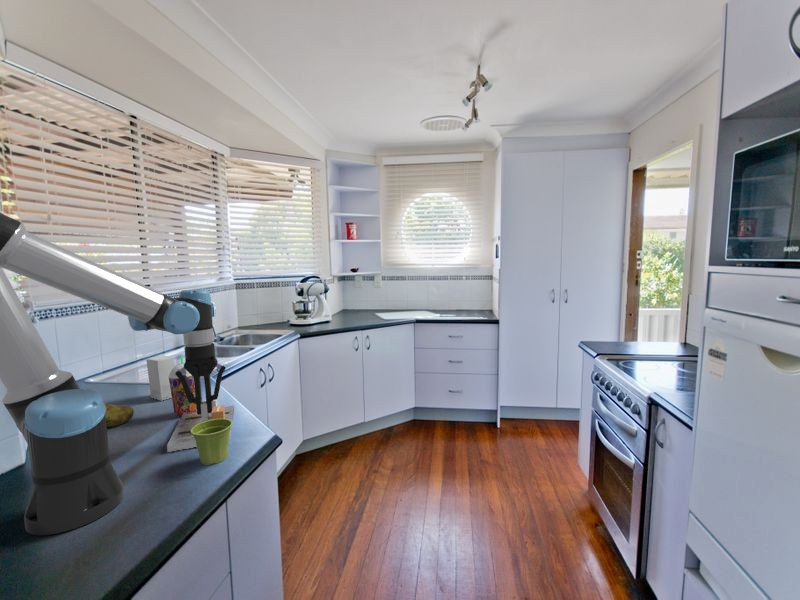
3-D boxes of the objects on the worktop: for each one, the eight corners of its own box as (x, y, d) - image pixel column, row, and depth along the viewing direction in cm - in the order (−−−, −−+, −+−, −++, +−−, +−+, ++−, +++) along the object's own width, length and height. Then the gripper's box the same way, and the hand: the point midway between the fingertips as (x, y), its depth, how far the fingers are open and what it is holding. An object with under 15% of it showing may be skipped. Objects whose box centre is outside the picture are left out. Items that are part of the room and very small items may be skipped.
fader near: (212, 429, 106) (211, 412, 106) (214, 423, 111) (213, 406, 110) (224, 427, 107) (223, 410, 107) (225, 421, 112) (224, 405, 112)
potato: (136, 424, 118) (134, 399, 117) (83, 437, 110) (80, 410, 109) (133, 416, 124) (131, 393, 124) (83, 428, 116) (80, 403, 115)
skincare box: (178, 396, 143) (175, 356, 142) (160, 402, 138) (156, 360, 137) (167, 393, 148) (164, 354, 147) (149, 398, 142) (145, 358, 141)
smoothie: (187, 419, 121) (182, 358, 119) (165, 418, 122) (160, 358, 120) (206, 409, 129) (201, 352, 127) (185, 408, 130) (180, 352, 129)
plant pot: (242, 452, 97) (240, 420, 96) (213, 471, 88) (210, 436, 88) (215, 448, 100) (212, 416, 100) (184, 465, 92) (181, 431, 91)
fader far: (205, 417, 115) (204, 401, 115) (207, 411, 120) (206, 396, 120) (216, 415, 116) (215, 400, 116) (218, 410, 121) (216, 395, 121)
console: (167, 452, 99) (166, 445, 98) (183, 419, 121) (183, 412, 121) (229, 441, 104) (229, 434, 104) (234, 411, 126) (233, 405, 126)
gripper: (225, 339, 112) (231, 415, 114) (175, 343, 107) (182, 423, 109) (223, 344, 105) (229, 425, 107) (170, 349, 100) (177, 433, 102)
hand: (205, 424), depth 108 cm, fingers closed
